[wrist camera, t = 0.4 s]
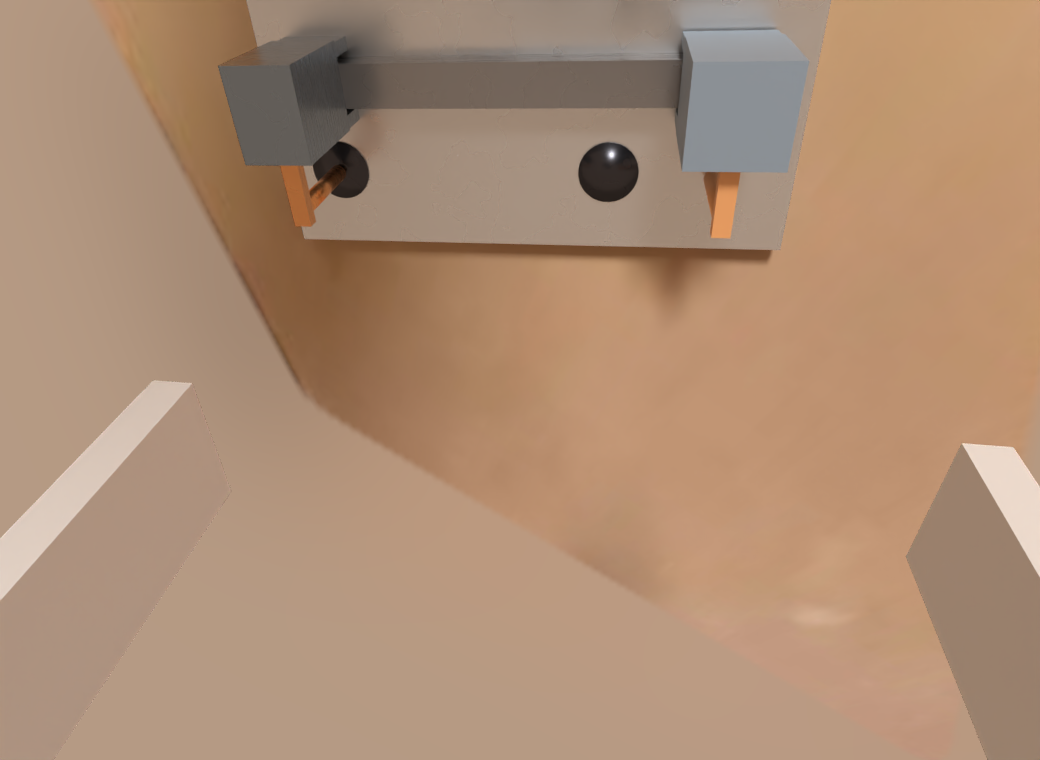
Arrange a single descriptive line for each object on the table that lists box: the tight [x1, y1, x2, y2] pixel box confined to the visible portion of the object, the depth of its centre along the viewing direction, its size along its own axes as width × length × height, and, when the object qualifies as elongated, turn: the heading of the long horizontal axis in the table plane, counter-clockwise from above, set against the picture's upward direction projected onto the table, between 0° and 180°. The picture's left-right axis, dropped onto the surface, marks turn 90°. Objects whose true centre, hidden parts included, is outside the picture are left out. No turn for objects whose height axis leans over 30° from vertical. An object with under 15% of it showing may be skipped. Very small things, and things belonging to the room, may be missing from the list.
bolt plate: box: [218, 0, 831, 250], centre depth 31 cm, size 14×26×8 cm, turn 92°
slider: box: [675, 30, 809, 238], centre depth 29 cm, size 7×4×6 cm, turn 2°
